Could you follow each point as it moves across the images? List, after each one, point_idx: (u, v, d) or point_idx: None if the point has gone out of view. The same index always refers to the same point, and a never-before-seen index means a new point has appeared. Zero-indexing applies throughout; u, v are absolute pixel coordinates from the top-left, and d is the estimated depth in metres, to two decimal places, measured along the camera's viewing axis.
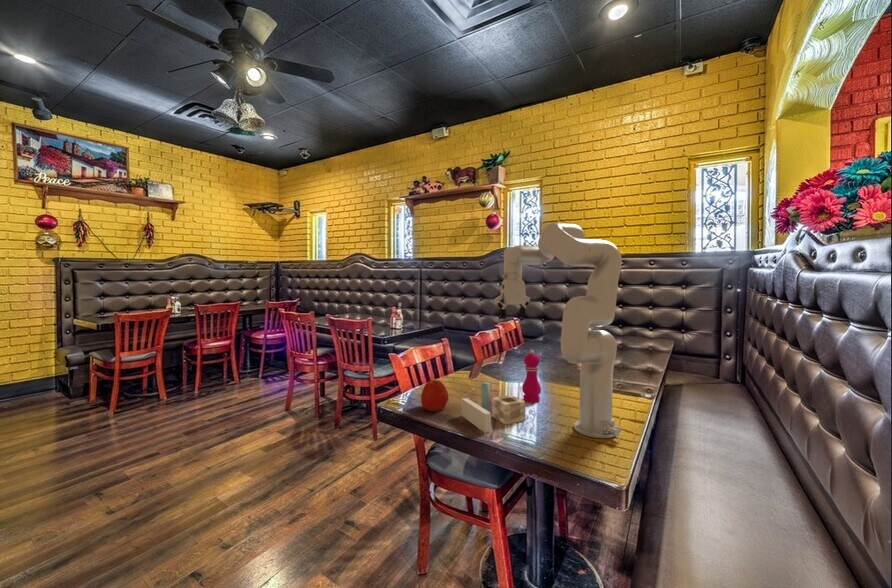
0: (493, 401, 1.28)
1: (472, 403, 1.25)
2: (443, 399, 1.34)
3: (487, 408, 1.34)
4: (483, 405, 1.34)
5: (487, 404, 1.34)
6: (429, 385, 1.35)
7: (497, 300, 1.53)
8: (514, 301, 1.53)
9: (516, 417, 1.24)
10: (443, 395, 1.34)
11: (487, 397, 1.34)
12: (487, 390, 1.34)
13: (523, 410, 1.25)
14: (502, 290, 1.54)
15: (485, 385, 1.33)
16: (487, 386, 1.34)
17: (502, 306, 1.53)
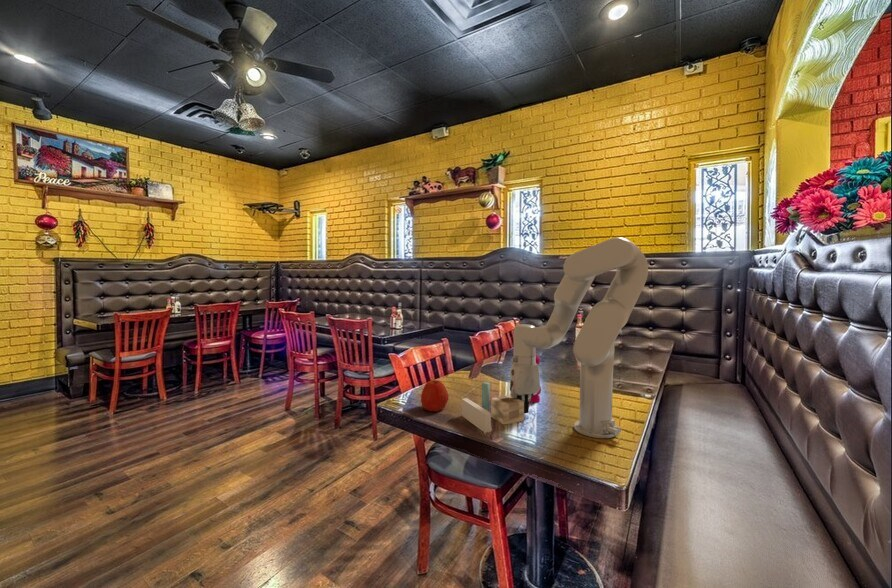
0: (492, 401, 1.28)
1: (472, 403, 1.25)
2: (443, 399, 1.34)
3: (487, 408, 1.34)
4: (483, 405, 1.34)
5: (487, 404, 1.34)
6: (429, 385, 1.35)
7: (514, 396, 1.28)
8: (526, 391, 1.27)
9: (515, 418, 1.24)
10: (443, 395, 1.34)
11: (487, 397, 1.34)
12: (487, 390, 1.34)
13: (521, 410, 1.25)
14: (511, 376, 1.28)
15: (485, 385, 1.33)
16: (487, 386, 1.34)
17: (522, 399, 1.28)
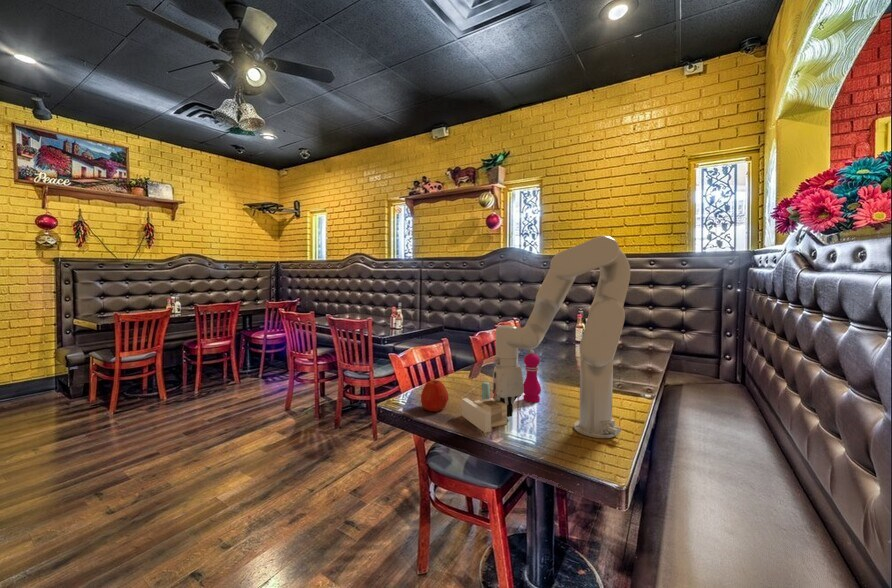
0: None
1: (472, 403, 1.25)
2: (443, 399, 1.34)
3: None
4: None
5: None
6: (429, 385, 1.35)
7: (497, 398, 1.25)
8: (509, 393, 1.24)
9: (497, 421, 1.21)
10: (443, 395, 1.34)
11: (487, 397, 1.34)
12: (487, 390, 1.34)
13: (504, 413, 1.22)
14: (494, 379, 1.25)
15: (485, 385, 1.33)
16: (487, 386, 1.34)
17: (505, 402, 1.25)
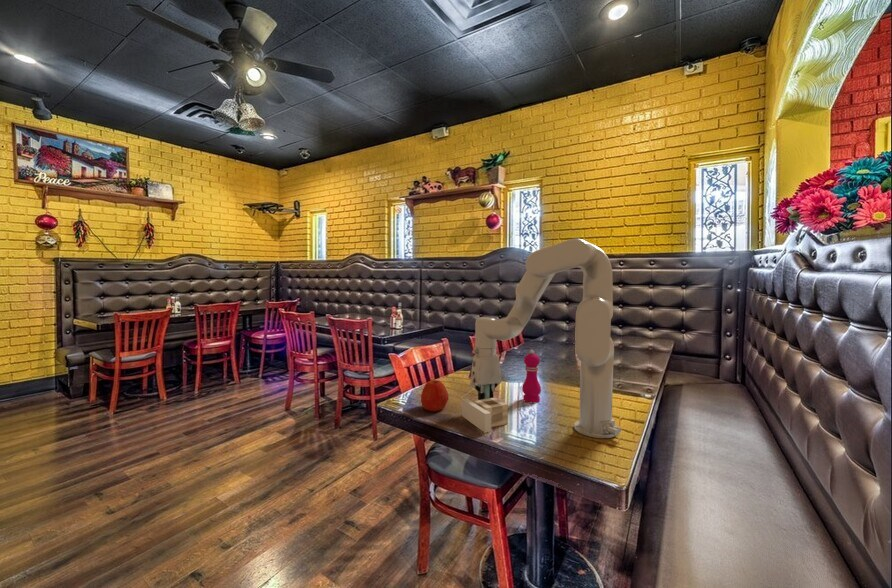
0: None
1: (472, 403, 1.25)
2: (443, 399, 1.34)
3: None
4: None
5: None
6: (429, 385, 1.35)
7: (473, 385, 1.32)
8: (487, 381, 1.32)
9: (498, 421, 1.21)
10: (443, 395, 1.34)
11: (487, 397, 1.34)
12: (487, 390, 1.34)
13: (505, 413, 1.22)
14: (473, 368, 1.33)
15: (485, 385, 1.33)
16: (487, 386, 1.34)
17: (480, 390, 1.33)
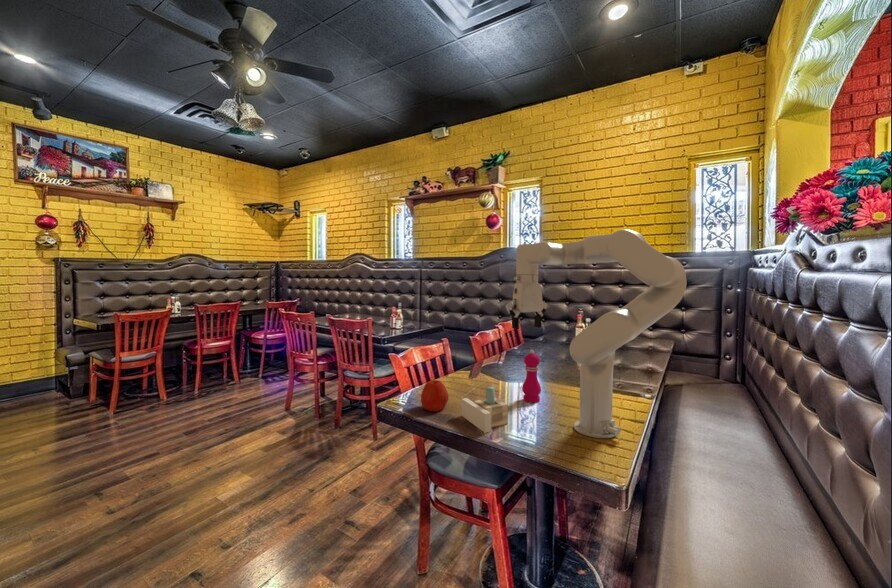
0: None
1: (472, 403, 1.25)
2: (443, 399, 1.34)
3: None
4: None
5: None
6: (429, 385, 1.35)
7: (509, 307, 1.28)
8: (529, 308, 1.28)
9: (498, 421, 1.21)
10: (443, 395, 1.34)
11: (492, 403, 1.23)
12: (492, 395, 1.22)
13: (505, 413, 1.22)
14: (514, 295, 1.29)
15: (490, 390, 1.22)
16: (492, 391, 1.22)
17: (515, 314, 1.28)
